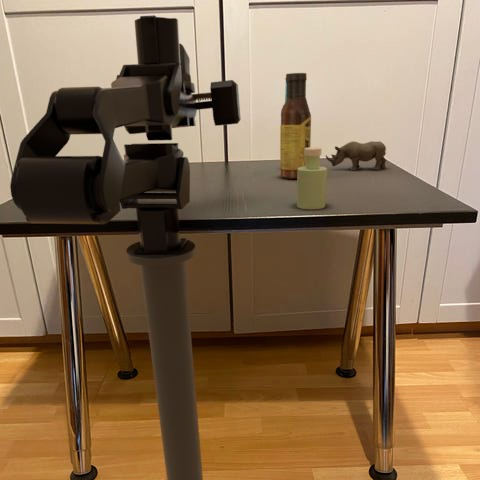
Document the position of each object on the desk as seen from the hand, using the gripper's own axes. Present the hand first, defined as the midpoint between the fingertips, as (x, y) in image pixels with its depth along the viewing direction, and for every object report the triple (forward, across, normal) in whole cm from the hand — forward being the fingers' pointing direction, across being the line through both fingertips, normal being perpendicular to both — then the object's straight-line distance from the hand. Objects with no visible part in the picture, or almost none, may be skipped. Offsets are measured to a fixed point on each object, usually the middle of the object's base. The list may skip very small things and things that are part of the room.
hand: (192, 110), depth 84 cm
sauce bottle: (+18, -16, +14) cm, 28 cm away
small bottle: (-9, -20, +17) cm, 27 cm away
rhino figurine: (+28, -30, +14) cm, 43 cm away
